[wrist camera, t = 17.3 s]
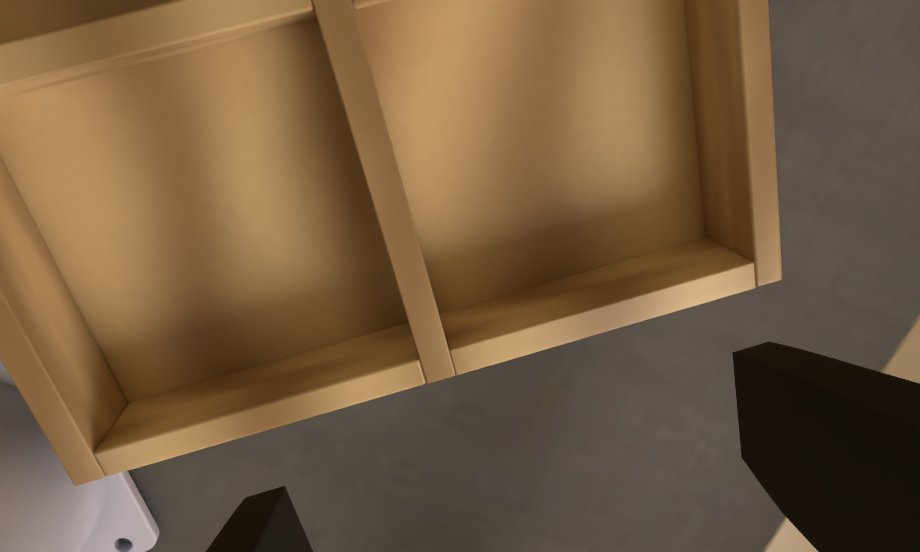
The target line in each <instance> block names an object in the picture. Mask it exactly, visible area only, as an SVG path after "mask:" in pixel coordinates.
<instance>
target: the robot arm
mask: <svg viewBox="0 0 920 552" xmlns="http://www.w3.org/2000/svg"><path fill="white" fill-rule="evenodd" d="M733 363H734V375H735V386H736V398H737V409H738V421H739V432H740V444H741V455H742V458H743V460H744V461H745V463H746V464H747V465H748V467H749V468H750V470H751V471H752V473H753V474H754V475H755V477H756V478H757V480H758V481H759V482H760V484H761V485H762V487H763V488H764V489H765V491H766V492H767V493H768V494H769V496H770V497H771V498H772V500H773V501H774V502H775V504H776V505H777V506H778V508H779V509H780V510H781V512H782V513H783V514H784V515H785V516H786V517H787V518H788V519H789V520H790V522H791V523H792V524H793V525H794V526H795V527H796V528H797V529H798V530H799V531H800V532H801V533H802V534H803V536H805V538H806V539H807V540H808V541H809V542H810V543H811V544H812V545H813V546H814V547H815V548H816V549H817V550H818V551H819V552H920V384H919V383H916V382H912V381H909V380H905V379H902V378H898V377H895V376H891V375H888V374H884V373H881V372H877V371H874V370H871V369H867V368H864V367H860V366H857V365H854V364H850V363H847V362H843V361H840V360H837V359H833V358H830V357H826V356H823V355H819V354H816V353H812V352H809V351H805V350H801V349H798V348H794V347H790V346H786V345H782V344H777V343H772V342H766V343H763V344H760V345H756V346H753V347H750V348H746V349H743V350H740V351H736V352H733ZM159 533H160V532H159V528H158V526H157V524H156V522H155V520H154V519H153V517H152V515H151V513H150V511H149V509H148V507H147V506H146V504H145V502H144V500H143V498H142V496H141V494H140V493H139V491H138V489H137V487H136V485H135V483H134V481H133V480H132V478H131V476H130V474H129V472H128V471H125V472H121V473H118V474H114V475H111V476H106V477H104V478H102V479H99V480H95V481H92V482H89V483H85V484H82V485H78V486H75V485H74V484H73V482H72V480H71V479H70V477H69V475H68V474H67V472H66V470H65V469H64V467H63V465H62V463H61V462H60V460H59V458H58V457H57V455H56V453H55V451H54V450H53V448H52V446H51V445H50V443H49V441H48V440H47V438H46V436H45V434H44V433H43V431H42V429H41V428H40V426H39V424H38V422H37V421H36V419H35V417H34V416H33V414H32V412H31V410H30V409H29V407H28V405H27V404H26V402H25V400H24V399H23V397H22V395H21V393H20V392H19V390H18V388H17V387H16V385H15V383H14V381H13V380H12V378H11V376H10V375H9V373H8V371H7V369H6V368H5V366H4V364H3V363H2V361H1V359H0V552H144V551H147V550H149V549H151V548H152V547H153V546H154V545H155V544H156V541H157V539H158V536H159ZM120 538H126V539H129V540H130V541H131V542H124V541H122V540H121V539H120ZM206 552H313V551H312V548H311V546H310V544H309V541H308V539H307V537H306V534H305V532H304V530H303V527H302V525H301V523H300V520H299V518H298V516H297V513H296V511H295V509H294V506H293V504H292V502H291V499H290V497H289V495H288V492H287V490H286V488H285V486H283V487H280V488H276V489H273V490H270V491H266V492H263V493H260V494H256V495H253V496H250V497H246V498H245V499H244V500H243V501H242V503H241V504H240V505H239V506H238V508H237V509H236V510H235V512H234V513H233V514H232V516H231V517H230V519H229V520H228V521H227V523H226V524H225V525H224V527H223V528H222V530H221V531H220V532H219V534H218V535H217V537H216V538H215V540H214V541H213V542H212V544H211V545H210V547H209V548H208V549H207V551H206Z"/></svg>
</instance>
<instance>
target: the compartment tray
mask: <svg viewBox="0 0 920 552" xmlns="http://www.w3.org/2000/svg"><path fill="white" fill-rule="evenodd" d="M781 279H782V268H781V248H780V228H779V209H778V189H777V169H776V149H775V129H774V110H773V90H772V70H771V50H770V31H769V11H768V0H0V359H1V361H2V363H3V364H4V366H5V368H6V369H7V371H8V373H9V375H10V376H11V378H12V380H13V381H14V383H15V385H16V387H17V388H18V390H19V392H20V393H21V395H22V397H23V399H24V400H25V402H26V404H27V405H28V407H29V409H30V410H31V412H32V414H33V416H34V417H35V419H36V421H37V422H38V424H39V426H40V428H41V429H42V431H43V433H44V434H45V436H46V438H47V440H48V441H49V443H50V445H51V446H52V448H53V450H54V451H55V453H56V455H57V457H58V458H59V460H60V462H61V463H62V465H63V467H64V469H65V470H66V472H67V474H68V475H69V477H70V479H71V480H72V482H73V484H74V485H75V486H78V485H82V484H85V483H89V482H92V481H95V480H99V479H102V478H104V477H106V476H111V475H114V474H118V473H121V472H125V471H128V470H132V469H135V468H138V467H142V466H145V465H149V464H152V463H156V462H159V461H162V460H166V459H169V458H173V457H176V456H180V455H183V454H186V453H190V452H193V451H197V450H200V449H204V448H207V447H210V446H214V445H217V444H221V443H224V442H228V441H231V440H234V439H238V438H241V437H245V436H248V435H252V434H255V433H258V432H262V431H265V430H269V429H272V428H276V427H279V426H282V425H286V424H289V423H293V422H296V421H300V420H303V419H306V418H310V417H313V416H317V415H320V414H323V413H327V412H330V411H334V410H337V409H341V408H344V407H347V406H351V405H354V404H358V403H361V402H365V401H368V400H371V399H375V398H378V397H382V396H385V395H389V394H392V393H395V392H399V391H402V390H406V389H409V388H413V387H416V386H419V385H423V384H425V383H426V382H427V383H432V382H435V381H439V380H442V379H445V378H449V377H452V376H455V374H456V375H459V374H463V373H466V372H469V371H473V370H476V369H480V368H483V367H486V366H490V365H493V364H497V363H500V362H504V361H507V360H510V359H514V358H517V357H521V356H524V355H528V354H531V353H534V352H538V351H541V350H545V349H548V348H552V347H555V346H558V345H562V344H565V343H569V342H572V341H576V340H579V339H582V338H586V337H589V336H593V335H596V334H600V333H603V332H606V331H610V330H613V329H617V328H620V327H624V326H627V325H630V324H634V323H637V322H641V321H644V320H648V319H651V318H654V317H658V316H661V315H665V314H668V313H672V312H675V311H678V310H682V309H685V308H689V307H692V306H695V305H699V304H702V303H706V302H709V301H713V300H716V299H719V298H723V297H726V296H730V295H733V294H737V293H740V292H743V291H747V290H750V289H754V288H755V286H762V285H765V284H769V283H772V282H775V281H779V280H781Z"/></svg>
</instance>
